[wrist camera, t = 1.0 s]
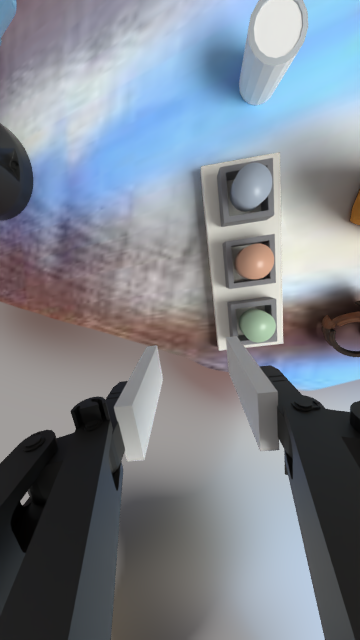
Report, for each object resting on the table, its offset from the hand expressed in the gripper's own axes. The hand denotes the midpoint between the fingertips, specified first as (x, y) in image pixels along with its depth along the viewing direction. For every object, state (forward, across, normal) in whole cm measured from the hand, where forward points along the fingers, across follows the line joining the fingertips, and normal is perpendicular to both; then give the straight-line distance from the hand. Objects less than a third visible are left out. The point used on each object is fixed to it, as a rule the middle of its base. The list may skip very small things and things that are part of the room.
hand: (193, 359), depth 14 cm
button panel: (+25, +10, +6) cm, 28 cm away
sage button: (+20, +10, -4) cm, 23 cm away
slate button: (+20, +10, +16) cm, 28 cm away
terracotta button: (+20, +10, +6) cm, 24 cm away
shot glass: (+25, +14, +32) cm, 43 cm away
